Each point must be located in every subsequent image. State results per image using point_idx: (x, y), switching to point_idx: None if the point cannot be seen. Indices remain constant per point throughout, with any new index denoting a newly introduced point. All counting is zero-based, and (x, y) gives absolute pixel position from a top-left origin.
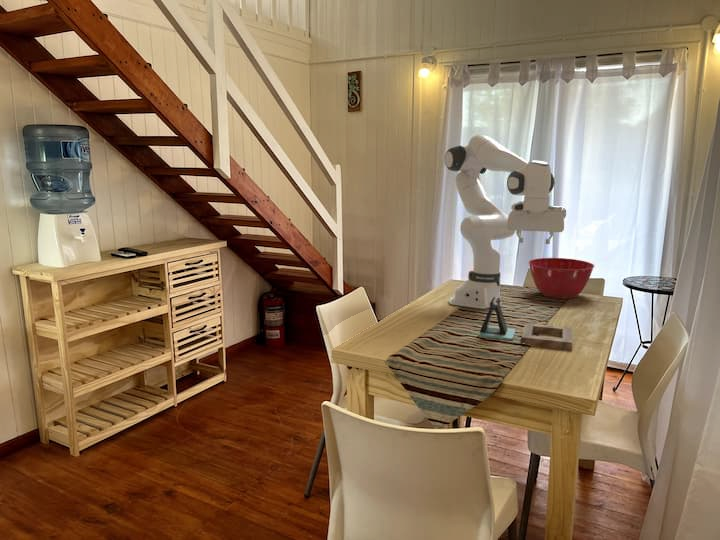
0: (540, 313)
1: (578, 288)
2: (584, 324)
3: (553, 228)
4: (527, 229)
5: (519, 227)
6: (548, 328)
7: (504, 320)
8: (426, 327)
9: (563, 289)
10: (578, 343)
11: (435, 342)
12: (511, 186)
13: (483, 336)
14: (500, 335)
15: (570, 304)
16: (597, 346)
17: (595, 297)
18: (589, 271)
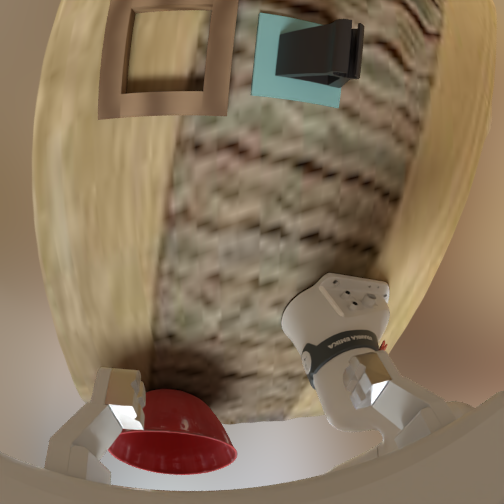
0: (188, 283)
1: None
2: (80, 223)
3: (26, 501)
4: (385, 469)
5: (465, 446)
6: (159, 92)
7: (292, 69)
8: (437, 96)
9: (155, 398)
10: (93, 50)
11: (411, 4)
12: None
13: None
14: (292, 29)
15: (137, 363)
16: (58, 51)
17: None
18: None
